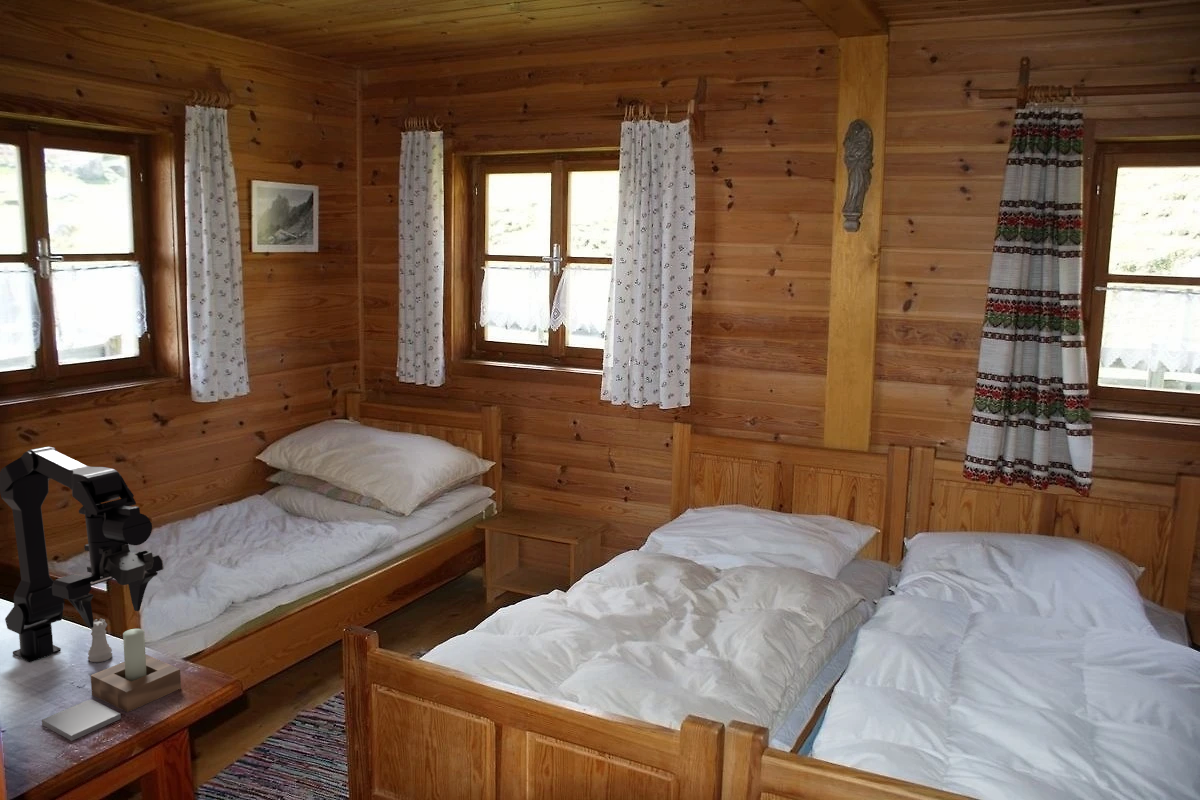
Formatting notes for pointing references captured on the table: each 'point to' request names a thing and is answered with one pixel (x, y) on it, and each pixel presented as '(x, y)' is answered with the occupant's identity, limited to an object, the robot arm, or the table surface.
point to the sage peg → (134, 654)
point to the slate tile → (81, 719)
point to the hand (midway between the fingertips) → (114, 619)
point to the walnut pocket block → (135, 684)
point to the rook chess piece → (99, 643)
